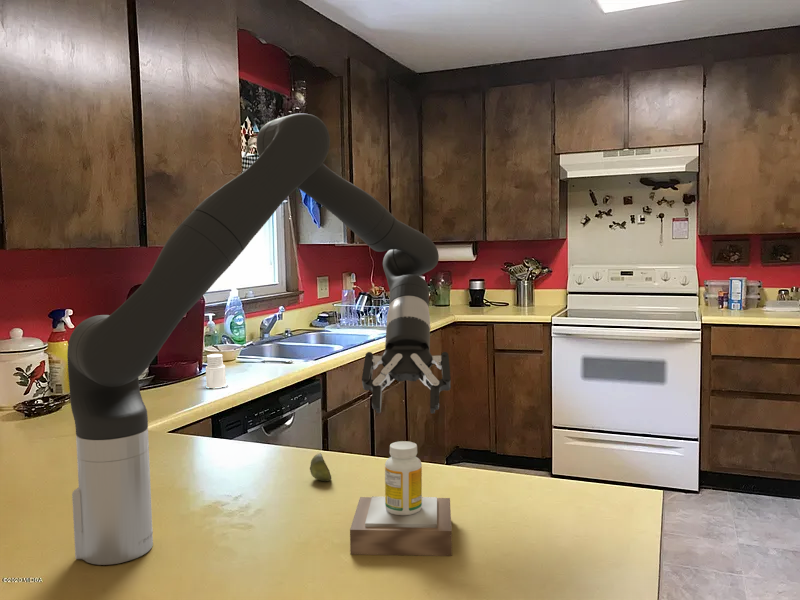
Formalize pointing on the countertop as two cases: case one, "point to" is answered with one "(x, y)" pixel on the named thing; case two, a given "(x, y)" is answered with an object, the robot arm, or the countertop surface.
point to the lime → (319, 468)
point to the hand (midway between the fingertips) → (405, 410)
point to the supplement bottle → (403, 479)
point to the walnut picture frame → (402, 529)
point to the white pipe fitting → (215, 371)
